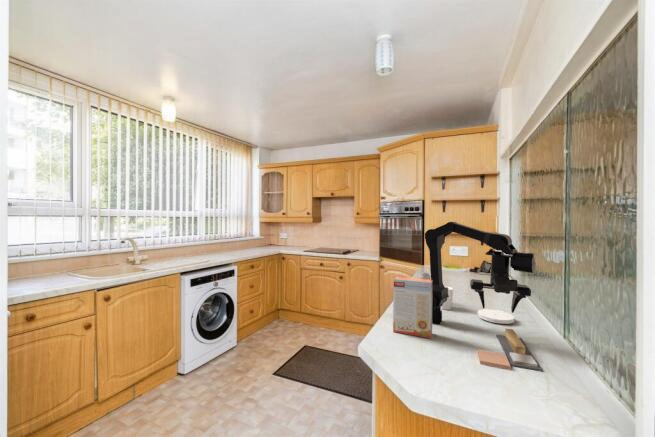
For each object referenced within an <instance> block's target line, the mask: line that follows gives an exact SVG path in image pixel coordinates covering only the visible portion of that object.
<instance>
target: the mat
mask: <svg viewBox="0 0 655 437" xmlns="http://www.w3.org/2000/svg"><path fill="white" fill-rule="evenodd" d="M495 335H496V338H497V340H498V342H499V345H500V346H501V348H502V350H503V352H504V353H503V354H506V357H507V359H508V361H509V364H510V366H511V367H514V368H520V369H527V370H530V371H531V370H533V371H538V372H543V368H542V367H541V365H540V363H539V362H538V361H537V360H536V358H535V356H534V355H533V353H532V352H531V351H530V349H529V347H528V346H527V344H526V343H525V341H523V339H522V337H519V339H520V340H521V342H522V343H523V345H524V347H525V355H531V356H532V357H533V359H534V360H535V362H536V363H537V367H533V366H527V365H521V364H516V363H514V362H513V360H512V358H511V357H510V355H509V353H510V352H512V353H514V352H513V350H512V348H511V346H510V344H509V343H508V341H507V339H506V337H505V334H504V335H503V334H499V333H498V334H497V333H496V334H495Z"/></svg>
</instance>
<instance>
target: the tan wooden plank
mask: <svg viewBox="0 0 655 437" xmlns="http://www.w3.org/2000/svg"><path fill="white" fill-rule="evenodd" d="M504 335H505V337H506V339H507V341H508V343H509V344H510V346H511V348H512V350H513V352H514V353H512V352H510V353H509V355H510V357H511V358H512V360H513V362H514V363H516V364H521V365H527V366H533V367H537V363H536V362H535V360H534V359H533V357H532V356H531V355H525V347H524V345H523V343H522V342H521V340H520V339H519V338H520V336H518V334H517V333H516V332H515V330H514V329H513V328H511V329H510V328H504Z"/></svg>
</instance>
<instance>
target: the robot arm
mask: <svg viewBox="0 0 655 437" xmlns="http://www.w3.org/2000/svg"><path fill="white" fill-rule="evenodd" d="M452 233H453V234H454V233H455V234H458V235H461V236H464V237H467V238H470V239H473V240H475V241H479V242H481V243H483V244H484V245H486V246H487V247H490V248H489V250H488V251H486V252H485V254H484V255H486V256H491V257H490V258H491V260H490V261H491V262H490V283H488V282H484V281H483V280H481V279H470V281H469V287H470V289H471V290H474V291H473V292H475V293H478V296H479V299H480V302H481V305H482V306H481V307H482V309H486V307H485V306H486V304H485V295H484V294H485V291H484V289H489V290H494V292H495V293H497V294H499V293H501V294H502V293H503V294H507V295H510V294H511V292H512V298H511V308H510V310H511V313H512V314H514V312H515V310H516V308H517V307H518V304H519V302H520V301H521V300H522V299H526V298H527V297H531V296H532V289H531V288H530V287H529V286H528V285H526V284H519V282H518V279H510V267H511V269H513V271H515V272H522V273H529V274H535V270H536V263H537V262H536V258H535V253H533V252H521V251H519V252H518V250H517V248H516V247H515V246H514V244H513V240H512V237H511V236H509V235H508V234H506V233H498V232H489V231H484V230H482V229H481V230H480V229H477V228H474V227H470V226H469V225H464V224H461V223H458V222H456V221H448V222H447V223H444V224H443V225H440V226H437V227H435V228H429V229H427V231H425V233H424V239H425V244H426V246H427V248H428V251H429V270H430V272H429V273H430V280H432V325H433V324H434V325H441V324H442V322H443V309H441V307H440V306H442V305H443V303H445V302H446V301H447V297H449V296H448V287H449V286H448V287H446V288H445V287H444V286H445V285H444V282H443V264H442V262H443V261H442V248H443V245H444V241H445V240H444V239H445V238H446V237H447V236H449V235H451V234H452Z"/></svg>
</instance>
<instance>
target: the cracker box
mask: <svg viewBox="0 0 655 437" xmlns="http://www.w3.org/2000/svg"><path fill="white" fill-rule="evenodd" d="M392 307H393V309H392V313H393V315H392V330H393V331H392V332H394V333H399V334H404V335H410V336H415V337H421V338H426V339H431V338H432V333H433V323H432V280H431V279H430V280H429V279H419V278H417V277H408V276H407V277H406V276H396V277H394V278H393V303H392Z"/></svg>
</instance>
